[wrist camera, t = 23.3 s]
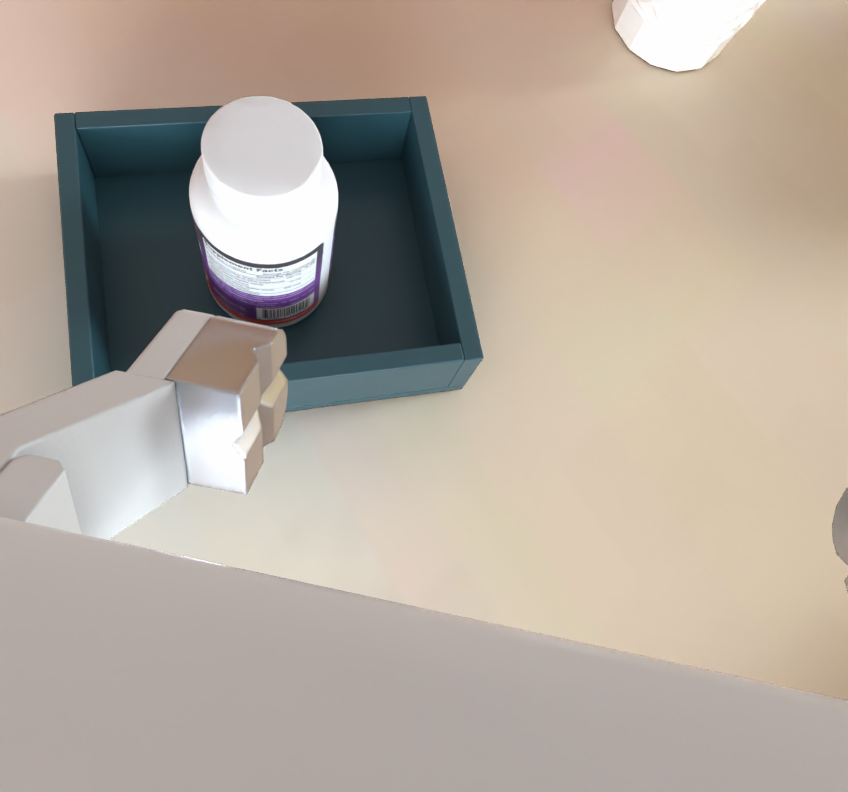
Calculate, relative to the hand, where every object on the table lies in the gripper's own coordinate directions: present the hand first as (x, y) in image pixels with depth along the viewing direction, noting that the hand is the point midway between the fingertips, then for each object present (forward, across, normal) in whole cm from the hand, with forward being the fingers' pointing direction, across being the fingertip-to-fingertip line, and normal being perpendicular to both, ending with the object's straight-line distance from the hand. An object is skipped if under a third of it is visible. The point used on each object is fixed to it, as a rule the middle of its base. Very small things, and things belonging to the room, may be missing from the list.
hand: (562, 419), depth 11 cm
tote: (+21, +12, +12) cm, 27 cm away
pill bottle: (+20, +12, +12) cm, 26 cm away
